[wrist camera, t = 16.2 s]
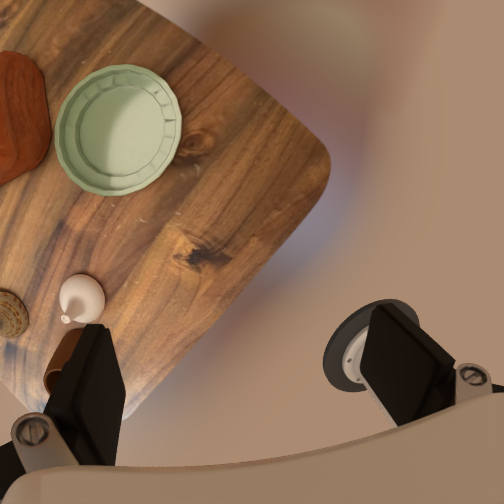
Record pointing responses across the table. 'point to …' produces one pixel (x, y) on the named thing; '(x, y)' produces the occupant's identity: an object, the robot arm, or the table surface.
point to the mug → (60, 358)
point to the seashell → (12, 316)
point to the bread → (21, 116)
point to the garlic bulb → (81, 299)
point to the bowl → (118, 130)
